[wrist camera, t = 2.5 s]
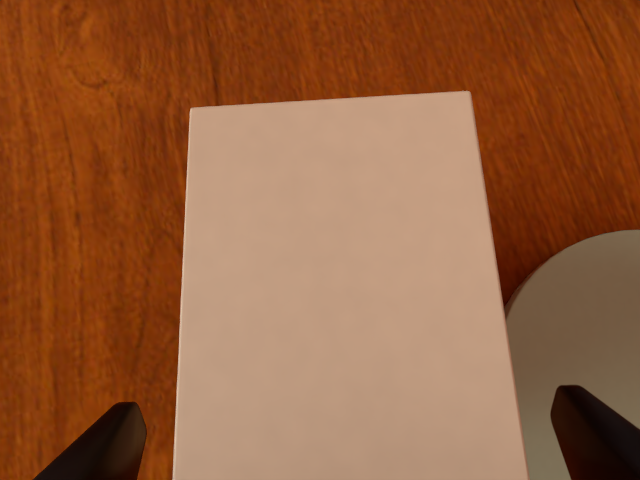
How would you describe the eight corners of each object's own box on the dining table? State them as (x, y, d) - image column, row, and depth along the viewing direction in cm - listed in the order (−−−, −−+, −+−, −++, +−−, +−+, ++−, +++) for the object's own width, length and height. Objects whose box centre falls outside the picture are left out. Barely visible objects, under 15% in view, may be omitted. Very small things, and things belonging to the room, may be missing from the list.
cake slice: (408, 432, 18) (544, 551, 6) (282, 436, 18) (166, 561, 6) (393, 259, 20) (472, 88, 8) (279, 265, 20) (187, 105, 8)
